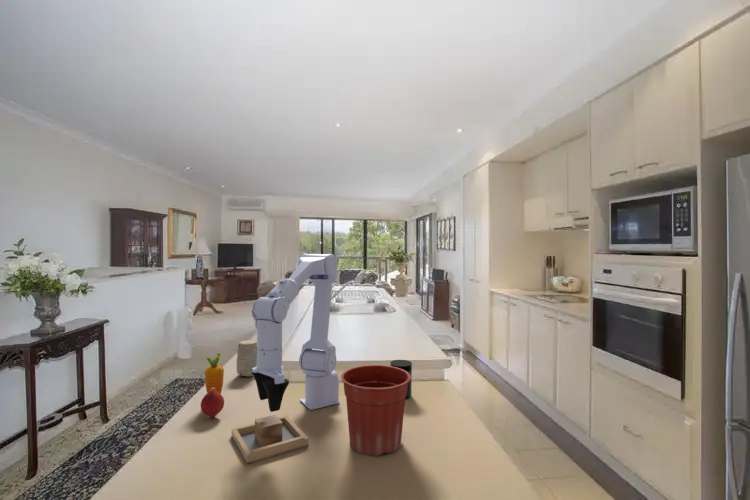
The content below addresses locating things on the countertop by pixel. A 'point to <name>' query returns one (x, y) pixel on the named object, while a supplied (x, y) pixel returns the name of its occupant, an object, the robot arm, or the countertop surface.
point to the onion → (212, 403)
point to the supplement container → (407, 367)
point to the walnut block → (268, 430)
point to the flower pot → (375, 407)
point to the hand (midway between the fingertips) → (269, 404)
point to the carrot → (214, 375)
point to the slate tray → (253, 451)
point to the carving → (246, 357)
